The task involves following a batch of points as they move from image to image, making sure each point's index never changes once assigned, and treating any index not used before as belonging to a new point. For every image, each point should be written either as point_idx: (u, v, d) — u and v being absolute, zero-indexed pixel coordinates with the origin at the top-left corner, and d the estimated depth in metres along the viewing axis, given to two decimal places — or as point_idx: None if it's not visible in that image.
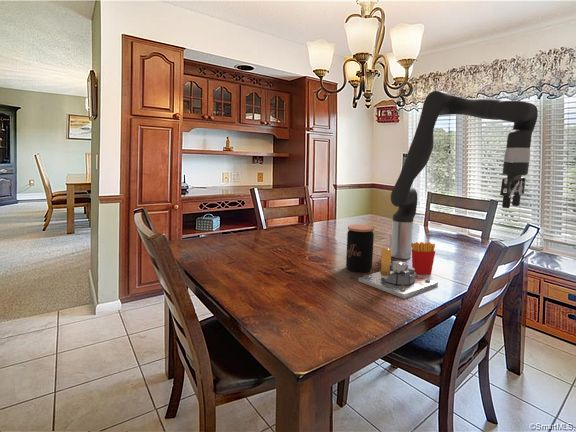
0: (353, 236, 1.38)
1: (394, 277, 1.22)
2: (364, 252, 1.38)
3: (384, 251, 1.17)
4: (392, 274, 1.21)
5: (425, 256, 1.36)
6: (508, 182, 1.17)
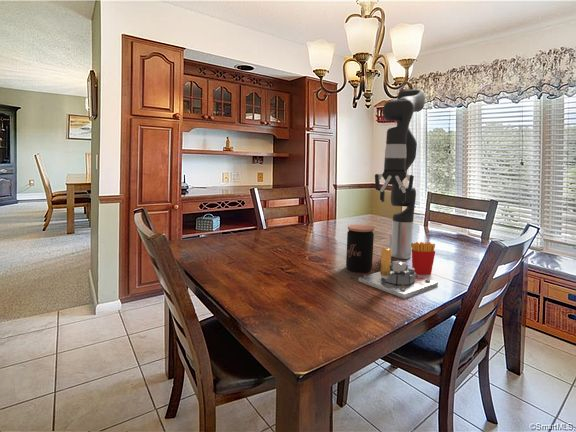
0: (353, 236, 1.38)
1: (394, 277, 1.22)
2: (364, 252, 1.38)
3: (384, 251, 1.17)
4: (392, 274, 1.21)
5: (425, 256, 1.36)
6: (413, 178, 1.25)
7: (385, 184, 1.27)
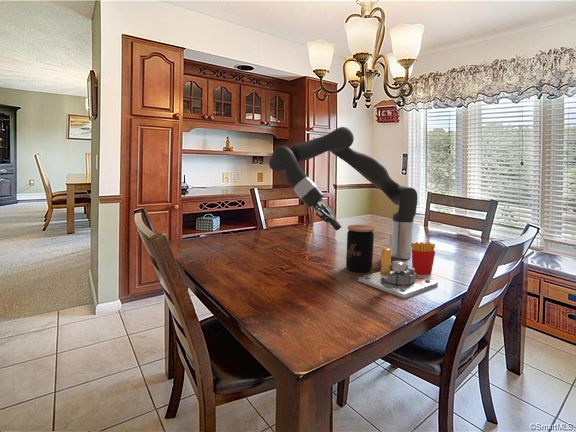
0: (353, 236, 1.38)
1: (394, 277, 1.22)
2: (364, 252, 1.38)
3: (384, 251, 1.17)
4: (392, 274, 1.21)
5: (425, 256, 1.36)
6: (322, 212, 1.19)
7: None
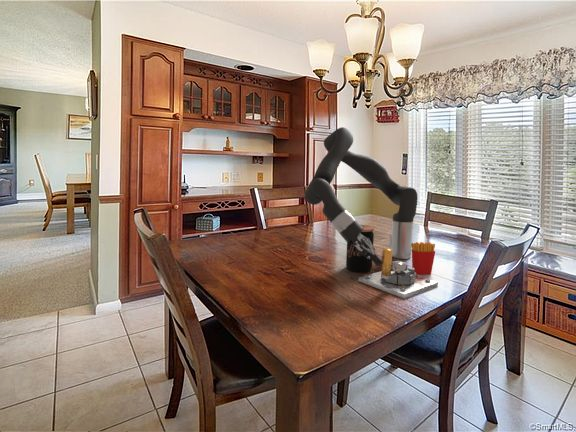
0: None
1: (395, 277, 1.22)
2: None
3: (385, 251, 1.17)
4: (393, 274, 1.21)
5: (425, 256, 1.36)
6: (363, 248, 1.15)
7: None
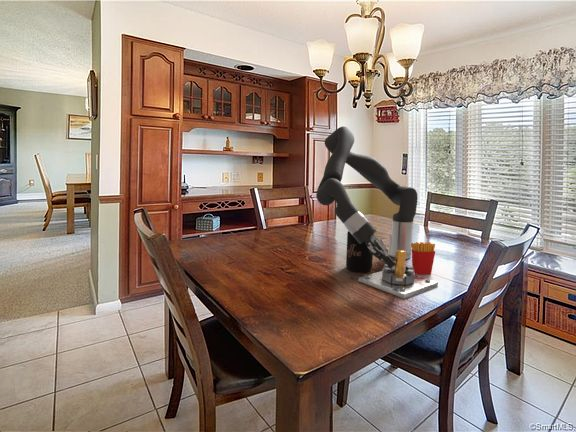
0: None
1: (402, 278, 1.21)
2: (364, 252, 1.38)
3: (400, 253, 1.14)
4: None
5: (425, 256, 1.36)
6: (376, 250, 1.13)
7: None
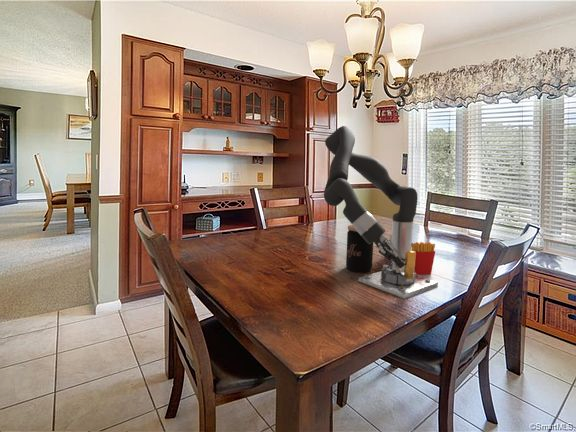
0: (353, 236, 1.38)
1: None
2: (364, 252, 1.38)
3: (412, 254, 1.14)
4: None
5: (425, 256, 1.36)
6: (386, 250, 1.13)
7: None
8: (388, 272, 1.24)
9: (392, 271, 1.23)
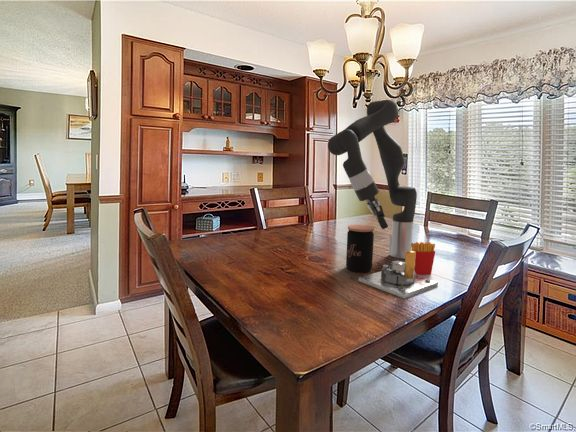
0: (353, 236, 1.38)
1: None
2: (364, 252, 1.38)
3: (412, 254, 1.14)
4: None
5: (425, 256, 1.36)
6: (381, 209, 1.16)
7: (371, 212, 1.23)
8: (388, 272, 1.24)
9: (392, 271, 1.23)
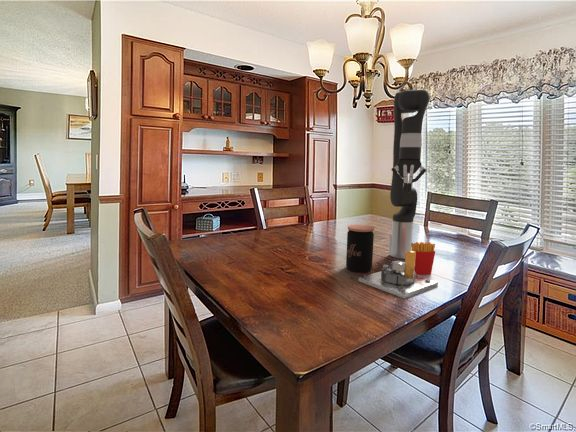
0: (353, 236, 1.38)
1: None
2: (364, 252, 1.38)
3: (412, 254, 1.14)
4: None
5: (425, 256, 1.36)
6: None
7: (405, 174, 1.28)
8: (388, 272, 1.24)
9: (392, 271, 1.23)
